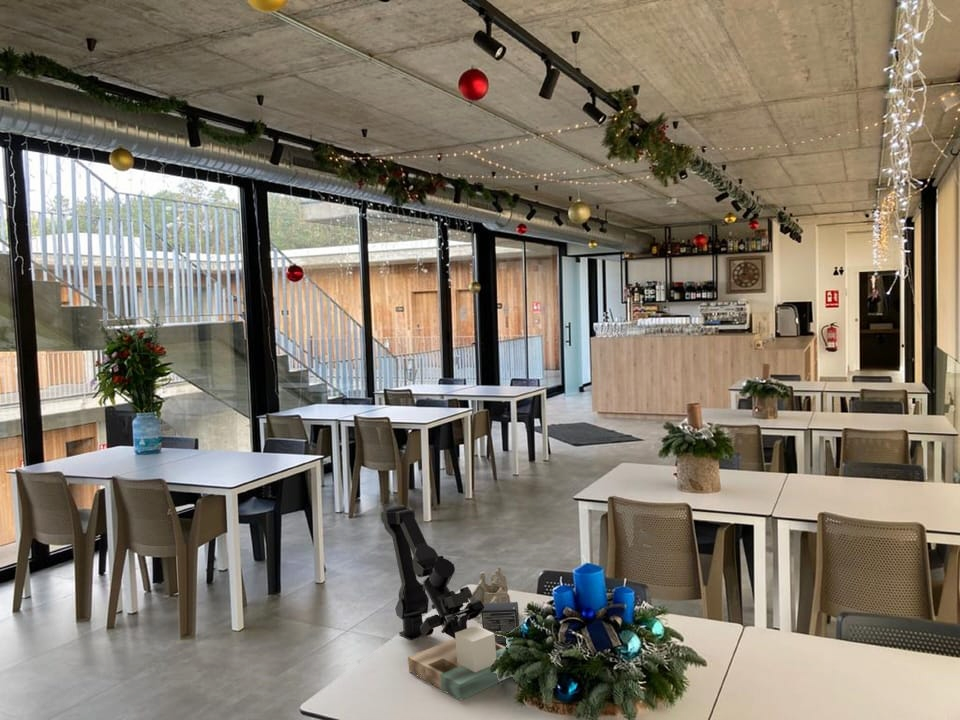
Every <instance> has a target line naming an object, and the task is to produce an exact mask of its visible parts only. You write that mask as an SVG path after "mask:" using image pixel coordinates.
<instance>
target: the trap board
mask: <svg viewBox="0 0 960 720" xmlns="http://www.w3.org/2000/svg"><path fill="white" fill-rule="evenodd" d="M495 646H496V659H497V658H498V657H499V656H500V655H501V654H502V652H503V651H504V650H505V648H506V647H507V646H506V645H500V644H498V643H496V642H495ZM407 662H408V665H407V666H408V672H409V671H410V672H409V673H411V672H412V673H411V674H413V675H414V676H416V675H418V676H419V677H418V676H417V677H418V678H420V677H421V678H420V679H422V678H423V679H425V680H426V682H427V681H428V682H427V683H429V682H430V683H429V684H431V683H432V684H434V685H435V686H434V685H433V686H434V687H436V686H437V687H436V688H438V687H439V688H438V689H439V690H441V689H442V691H443V690H444V691H443V692H445V691H446V692H445V693H447V692H448V693H447V694H449V695H450V694H451V695H450V696H452V695H453V696H452V697H454V696H455V697H454V698H456V697H457V698H456V699H458V700H459V699H460V701H462V700H465V699H466V697H467V698H468V696H469V697H470V696H471V697H472V695H475V694H477V693H479V692H481V691H484V690H486V689H488V688H490V687H492V686H495V685H497V684H499V683H500V682H499V680H498V678H497V674H496V673H492V672H491V671H490V667H491V666H490V667H487V668H485V669H483V670H480V671H478V672H473V671H471V670H470V669H468V668H466V667H464V666H462V665H460V664H459V663H457V654H456V640H455V639H454V638H452V639H450V640H447V641H445V642H442V643H440V644H437V645H435V646H432V647H430V648H428V649H424V650H422V651H419V652H417V653H414V654H412V655H410V656H407ZM423 679H422V680H423ZM425 680H424V681H425ZM498 682H499V683H498ZM432 684H431V685H432ZM461 699H462V700H461Z"/></svg>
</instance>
